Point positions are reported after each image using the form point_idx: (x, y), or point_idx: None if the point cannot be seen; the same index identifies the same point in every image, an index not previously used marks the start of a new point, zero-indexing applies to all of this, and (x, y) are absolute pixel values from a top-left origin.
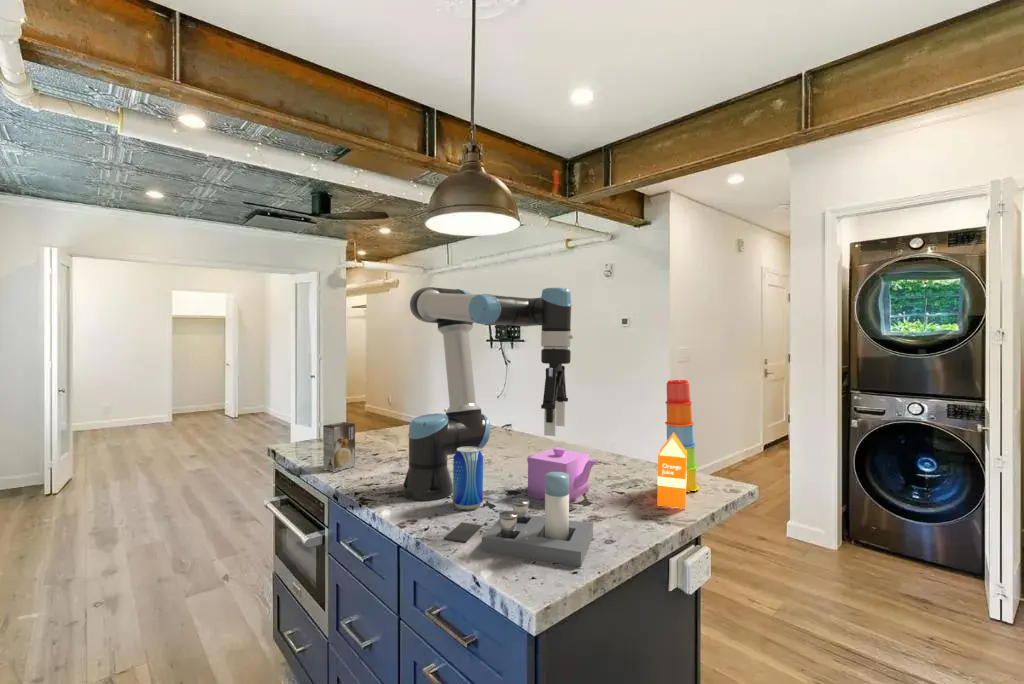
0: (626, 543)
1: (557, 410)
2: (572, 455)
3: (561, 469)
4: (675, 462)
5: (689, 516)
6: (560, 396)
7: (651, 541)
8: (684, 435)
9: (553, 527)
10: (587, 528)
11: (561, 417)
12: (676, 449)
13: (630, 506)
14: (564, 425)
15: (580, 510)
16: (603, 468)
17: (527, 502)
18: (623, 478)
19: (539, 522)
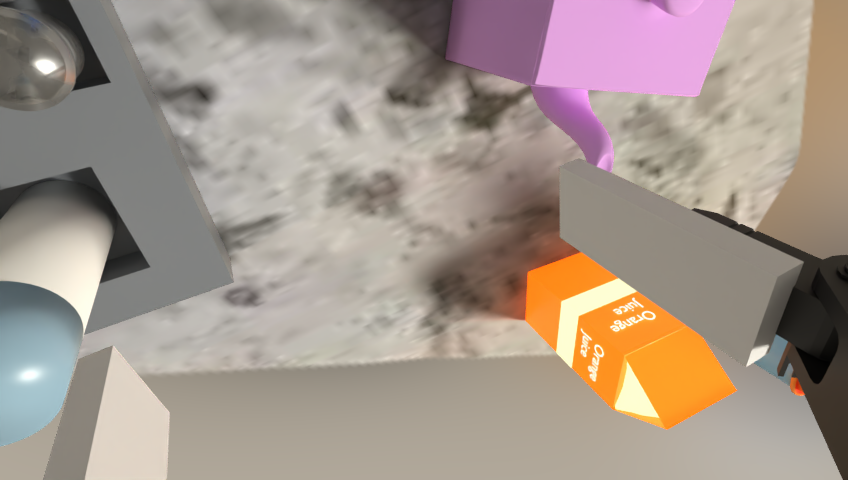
0: (261, 328)
1: (670, 253)
2: (670, 43)
3: (520, 56)
4: (604, 379)
5: (492, 340)
6: (834, 392)
7: (311, 356)
8: (761, 363)
9: None
10: (181, 290)
11: (611, 252)
12: (638, 404)
13: (504, 226)
14: (568, 238)
15: (417, 128)
16: (788, 23)
17: (29, 106)
18: (705, 118)
19: (89, 139)
